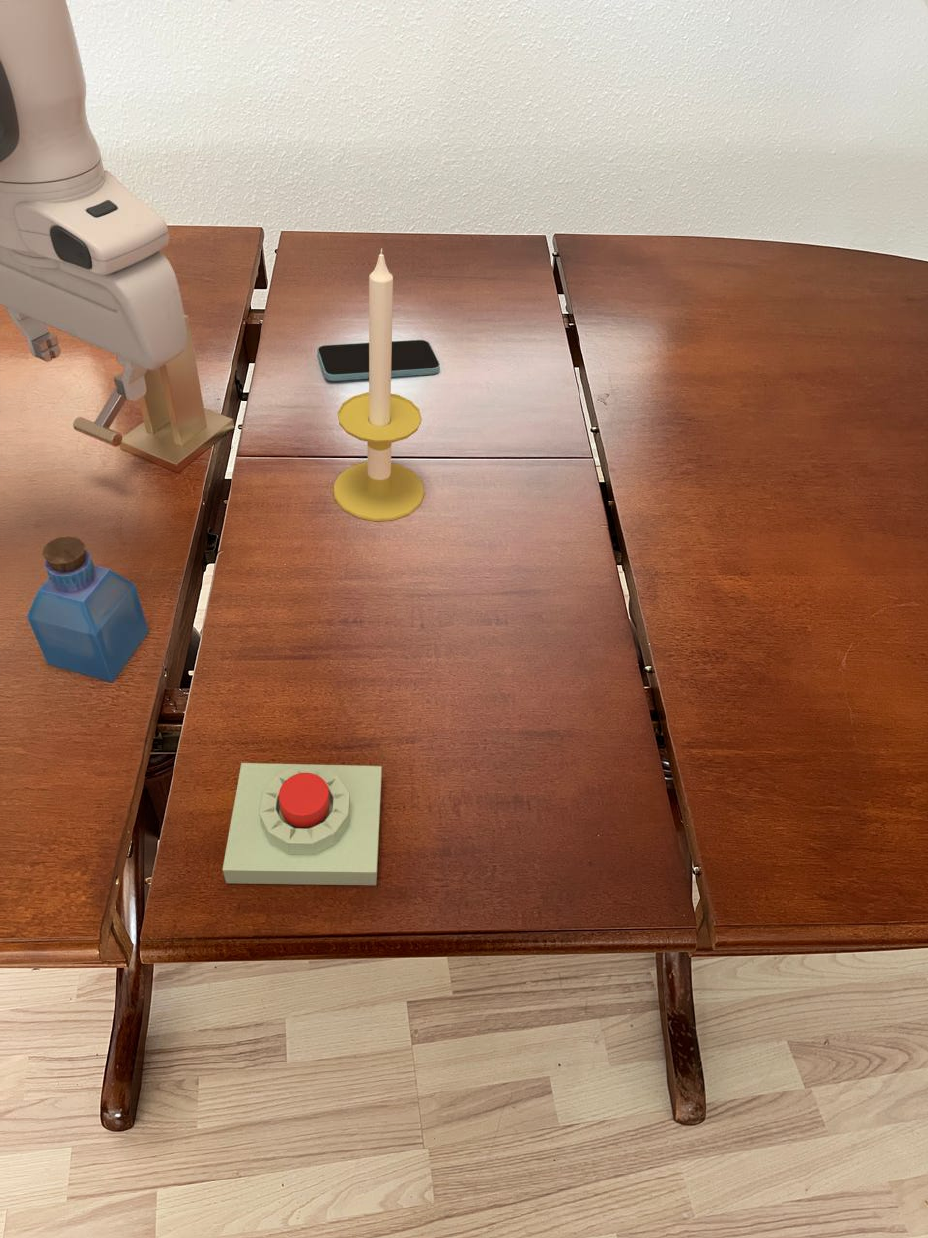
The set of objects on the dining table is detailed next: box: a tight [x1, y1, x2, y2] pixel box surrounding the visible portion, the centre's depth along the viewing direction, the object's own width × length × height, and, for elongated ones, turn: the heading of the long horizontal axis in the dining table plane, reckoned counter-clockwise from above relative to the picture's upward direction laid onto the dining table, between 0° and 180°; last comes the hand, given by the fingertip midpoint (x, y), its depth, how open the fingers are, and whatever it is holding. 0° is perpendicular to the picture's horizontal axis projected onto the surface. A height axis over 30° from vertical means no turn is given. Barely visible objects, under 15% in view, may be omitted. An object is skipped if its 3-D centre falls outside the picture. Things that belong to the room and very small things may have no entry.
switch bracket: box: [118, 313, 235, 474], centre depth 92 cm, size 10×8×15 cm
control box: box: [222, 762, 383, 886], centre depth 65 cm, size 11×9×4 cm
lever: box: [72, 386, 128, 448], centre depth 87 cm, size 14×5×2 cm, turn 152°
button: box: [279, 773, 330, 827], centre depth 63 cm, size 4×4×2 cm
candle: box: [332, 247, 426, 522], centre depth 84 cm, size 10×10×27 cm
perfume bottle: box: [26, 535, 150, 683], centre depth 72 cm, size 6×6×12 cm
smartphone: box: [316, 339, 441, 382], centre depth 111 cm, size 7×1×15 cm
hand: (89, 375), depth 70 cm, fingers open, 8 cm apart
